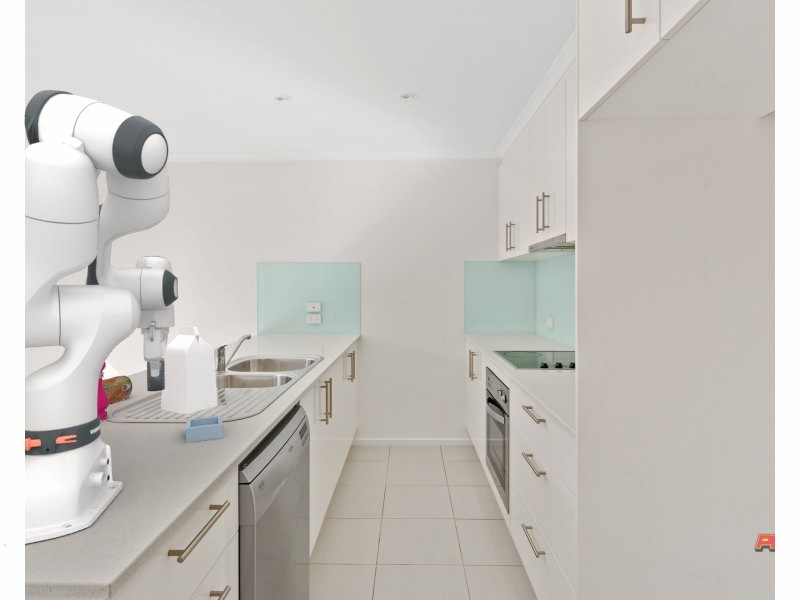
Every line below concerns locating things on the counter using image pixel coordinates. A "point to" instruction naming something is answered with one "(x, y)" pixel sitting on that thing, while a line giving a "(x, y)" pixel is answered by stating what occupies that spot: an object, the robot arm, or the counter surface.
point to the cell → (156, 377)
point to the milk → (189, 373)
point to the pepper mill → (102, 397)
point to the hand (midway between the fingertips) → (156, 374)
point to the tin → (117, 388)
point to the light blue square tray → (204, 429)
